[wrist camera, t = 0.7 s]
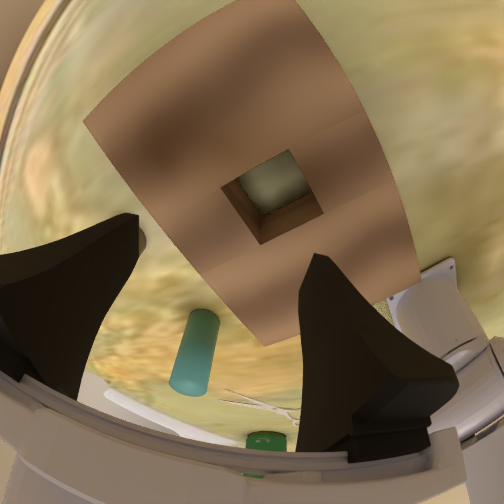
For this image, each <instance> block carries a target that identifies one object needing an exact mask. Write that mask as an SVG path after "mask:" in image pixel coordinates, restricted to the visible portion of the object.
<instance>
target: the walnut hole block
mask: <svg viewBox="0 0 504 504" xmlns="http://www.w3.org/2000/svg"><path fill="white" fill-rule="evenodd" d="M83 123H84V124H85V126H86V127H87V129H88V130H89V131H90V133H91V134H92V136H93V137H94V139H95V140H96V142H97V143H98V144H99V146H100V147H101V149H102V150H103V152H104V153H105V154H106V156H107V157H108V159H109V160H110V161H111V163H112V164H113V165H114V167H115V168H116V170H117V171H118V172H119V174H120V175H121V176H122V178H123V179H124V180H125V182H126V183H127V184H128V186H129V187H130V188H131V190H132V191H133V192H134V194H135V195H136V196H137V198H138V199H139V200H140V202H141V203H142V204H143V205H144V207H145V208H146V209H147V211H148V212H149V213H150V214H151V216H152V217H153V218H154V220H155V221H156V222H157V223H158V225H159V226H160V227H161V228H162V230H163V231H164V232H165V233H166V235H167V236H168V237H169V238H170V239H171V241H172V242H173V243H174V244H175V246H176V247H177V248H178V249H179V250H180V252H181V253H182V254H183V255H184V256H185V258H186V259H187V260H188V261H189V262H190V264H191V265H192V266H193V267H194V268H195V270H196V271H197V272H198V273H199V274H200V275H201V277H202V278H203V279H204V280H205V281H206V282H207V284H208V285H209V286H210V287H211V288H212V289H213V290H214V292H215V293H216V294H217V295H218V296H219V297H220V298H221V300H222V301H223V302H224V303H225V304H226V305H227V306H228V307H229V309H230V310H231V311H232V312H233V313H234V314H235V315H236V316H237V317H238V318H239V320H240V321H241V322H242V323H243V324H244V325H245V326H246V327H247V328H248V329H249V330H250V332H251V333H252V334H253V335H254V336H255V337H256V338H257V339H258V340H259V341H260V342H261V343H262V344H263V345H264V346H268V345H271V344H274V343H277V342H280V341H283V340H286V339H289V338H291V337H294V336H297V335H300V326H299V317H298V294H299V289H300V287H301V284H302V282H303V279H304V277H305V274H306V272H307V270H308V267H309V265H310V262H311V259H312V257H313V254H314V253H317V254H321V255H326V256H329V257H330V258H331V259H332V260H333V262H334V263H335V264H336V265H337V266H338V267H339V269H340V270H341V271H342V272H343V273H344V275H345V276H346V277H347V278H348V279H349V281H350V282H351V283H352V284H353V285H354V287H355V288H356V289H357V290H358V291H359V292H360V293H361V295H362V296H363V297H364V298H365V299H366V300H367V301H368V302H369V303H370V304H371V305H374V304H376V303H378V302H380V301H383V300H385V299H387V298H389V297H391V296H393V295H395V294H397V293H399V292H402V291H404V290H406V289H408V288H410V287H412V286H414V285H416V284H418V283H420V282H421V281H422V279H421V274H420V269H419V264H418V260H417V255H416V251H415V247H414V243H413V239H412V236H411V232H410V228H409V225H408V221H407V218H406V214H405V211H404V208H403V205H402V202H401V199H400V196H399V193H398V190H397V187H396V184H395V181H394V178H393V176H392V173H391V170H390V168H389V165H388V162H387V160H386V157H385V155H384V152H383V150H382V148H381V145H380V143H379V141H378V138H377V136H376V134H375V131H374V129H373V127H372V125H371V123H370V121H369V118H368V116H367V114H366V112H365V110H364V108H363V106H362V104H361V102H360V100H359V98H358V96H357V95H356V93H355V91H354V89H353V87H352V85H351V83H350V82H349V80H348V78H347V76H346V75H345V73H344V71H343V69H342V68H341V66H340V64H339V63H338V61H337V60H336V58H335V56H334V55H333V53H332V52H331V50H330V48H329V47H328V45H327V44H326V42H325V41H324V39H323V38H322V36H321V35H320V33H319V32H318V31H317V29H316V28H315V26H314V25H313V24H312V22H311V21H310V19H309V18H308V17H307V15H306V14H305V13H304V11H303V10H302V9H301V8H300V6H299V5H298V4H297V3H296V1H295V0H236V1H234V2H232V3H230V4H228V5H226V6H224V7H223V8H221V9H219V10H217V11H216V12H214V13H212V14H210V15H209V16H207V17H205V18H204V19H202V20H201V21H199V22H197V23H196V24H194V25H193V26H191V27H190V28H188V29H187V30H185V31H184V32H182V33H181V34H179V35H178V36H176V37H175V38H174V39H172V40H171V41H169V42H168V43H167V44H165V45H164V46H163V47H161V48H160V49H159V50H157V51H156V52H155V53H154V54H152V55H151V56H150V57H149V58H147V59H146V60H145V61H144V62H143V63H141V64H140V65H139V66H138V67H137V68H136V69H134V70H133V71H132V72H131V73H130V74H129V75H128V76H127V77H125V78H124V79H123V80H122V81H121V82H120V83H119V84H118V85H117V86H116V87H115V88H114V89H113V90H112V91H111V92H110V93H109V94H108V95H107V96H106V97H105V98H104V99H103V100H102V101H101V102H100V103H99V104H98V105H97V106H96V107H95V108H94V109H93V110H92V111H91V112H90V114H89V115H88V116H87V117H86V118H85V119H84V120H83ZM287 149H289V151H290V153H291V154H292V156H293V158H294V159H295V161H296V163H297V165H298V166H299V168H300V170H301V172H302V173H303V175H304V177H305V179H306V181H307V182H308V184H309V186H310V188H311V190H312V191H313V192H311V193H309V194H307V195H305V196H303V197H301V198H299V199H297V200H296V201H294V202H292V203H290V204H288V205H286V206H284V207H282V208H280V209H278V210H276V211H274V212H272V213H270V214H268V215H266V216H265V217H263V218H262V217H261V215H260V214H259V212H258V210H257V209H256V207H255V206H254V204H253V203H252V201H251V200H250V198H249V197H248V195H247V194H246V192H245V191H244V189H243V188H242V186H241V185H240V183H239V182H238V181H237V179H236V178H237V177H239V176H240V175H242V174H244V173H246V172H247V171H249V170H251V169H253V168H254V167H256V166H258V165H260V164H261V163H263V162H265V161H267V160H269V159H270V158H272V157H274V156H276V155H278V154H280V153H281V152H283V151H285V150H287Z"/></svg>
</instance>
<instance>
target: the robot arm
mask: <svg viewBox="0 0 504 504" xmlns="http://www.w3.org/2000/svg"><path fill="white" fill-rule="evenodd" d="M138 258H139V215H135V214H130V213H123V214H120V215H117V216H115V217H112V218H110V219H107V220H105V221H103V222H100V223H98V224H96V225H94V226H91V227H89V228H87V229H84V230H82V231H80V232H77V233H75V234H73V235H70V236H68V237H65V238H63V239H60V240H57V241H54V242H51V243H48V244H45V245H42V246H38V247H35V248H31V249H27V250H23V251H19V252H14V253H9V254H3V255H0V438H1V439H2V440H3V441H4V442H6V443H7V444H8V445H9V446H11V447H12V448H13V449H14V450H16V451H17V455H16V458H15V461H14V464H13V467H12V470H11V473H10V476H9V480H8V483H7V487H6V490H5V494H4V498H3V502H2V504H418V503H421V502H423V501H426V500H428V499H431V498H433V497H435V496H438V495H440V494H442V493H445V492H447V491H449V490H451V489H453V488H455V487H457V486H459V485H461V484H463V483H465V484H466V488H467V491H468V495H469V499H470V503H471V504H504V417H503V418H502V419H500V420H499V421H497V422H496V423H494V424H493V425H491V426H490V427H489V428H487V429H486V430H484V431H482V432H481V433H479V434H478V435H476V436H474V437H473V438H471V439H469V440H468V441H465V442H463V443H460V442H462V441H463V440H465V439H467V438H469V437H470V436H472V435H474V434H475V433H477V432H478V431H480V430H481V429H483V428H485V427H486V426H488V425H489V424H491V423H492V422H493V421H495V420H496V419H498V418H499V417H500V416H502V415H503V414H504V338H503V337H497V336H494V337H493V338H492V339H491V340H489V339H488V338H487V336H486V334H485V332H484V330H483V329H482V327H481V325H480V323H479V322H478V320H477V318H476V317H475V315H474V313H473V312H472V310H471V309H470V307H469V305H468V304H467V302H466V301H465V299H464V298H463V296H462V294H461V293H460V291H459V290H458V288H457V280H456V267H455V260H454V259H453V258H452V257H450V258H448V259H446V260H444V261H442V262H441V263H439V264H437V265H435V266H433V267H431V268H430V269H428V270H426V271H424V272H422V273H420V274H421V279H422V281H421V282H420V283H418V284H416V285H414V286H412V287H410V288H408V289H406V290H404V291H402V292H399V293H397V294H395V295H393V296H392V297H391V298H390V297H389V298H387V299H386V300H387V303H388V307H389V310H390V313H391V316H392V319H393V322H394V326H395V327H394V326H393V325H392V324H391V323H389V322H388V321H387V320H386V319H385V318H384V317H383V316H382V315H381V314H380V313H379V312H378V311H377V310H376V309H375V308H374V307H373V306H372V305H371V304H370V303H369V302H368V301H367V300H366V299H365V298H364V297H363V296H362V295H361V293H360V292H359V291H358V290H357V289H356V288H355V287H354V285H353V284H352V283H351V282H350V281H349V279H348V278H347V277H346V276H345V275H344V273H343V272H342V271H341V270H340V269H339V267H338V266H337V265H336V264H335V263H334V262H333V260H332V259H331V258H330V257H329V256H326V255H321V254H317V253H314V254H313V257H312V259H311V262H310V265H309V267H308V270H307V272H306V274H305V277H304V279H303V282H302V284H301V287H300V289H299V294H298V317H299V326H300V336H301V345H302V355H303V389H302V404H301V415H300V424H299V432H298V439H297V445H296V451H295V452H280V451H265V450H255V449H246V448H238V447H230V446H224V445H218V444H212V443H206V442H201V441H196V440H192V439H187V438H183V437H179V436H175V435H171V434H167V433H163V432H159V431H155V430H152V429H149V428H146V427H142V426H139V425H136V424H133V423H130V422H127V421H124V420H122V419H119V418H116V417H113V416H111V415H108V414H106V413H103V412H100V411H98V410H96V409H93V408H91V407H89V406H86V405H84V404H82V403H80V402H78V401H77V397H78V393H79V388H80V384H81V379H82V376H83V372H84V369H85V366H86V362H87V359H88V356H89V353H90V351H91V348H92V345H93V342H94V340H95V337H96V335H97V333H98V330H99V328H100V326H101V323H102V321H103V319H104V317H105V315H106V314H107V312H108V310H109V309H110V307H111V305H112V304H113V302H114V301H115V299H116V297H117V296H118V294H119V293H120V291H121V289H122V288H123V286H124V285H125V283H126V282H127V280H128V278H129V277H130V275H131V273H132V271H133V269H134V267H135V265H136V262H137V260H138ZM450 266H451V267H450ZM241 473H246V474H258V475H265V476H264V477H263V479H260V478H253V477H246V476H243V475H242V474H241Z"/></svg>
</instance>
